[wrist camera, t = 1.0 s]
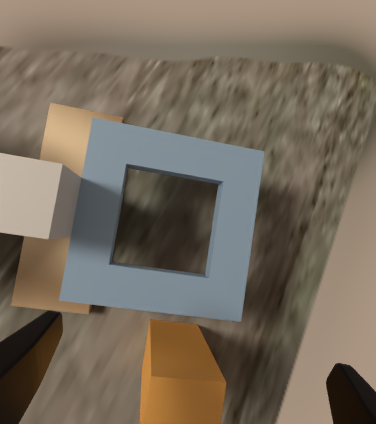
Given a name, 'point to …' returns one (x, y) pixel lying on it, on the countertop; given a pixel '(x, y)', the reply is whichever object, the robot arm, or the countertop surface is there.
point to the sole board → (55, 248)
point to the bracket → (110, 211)
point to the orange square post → (180, 377)
